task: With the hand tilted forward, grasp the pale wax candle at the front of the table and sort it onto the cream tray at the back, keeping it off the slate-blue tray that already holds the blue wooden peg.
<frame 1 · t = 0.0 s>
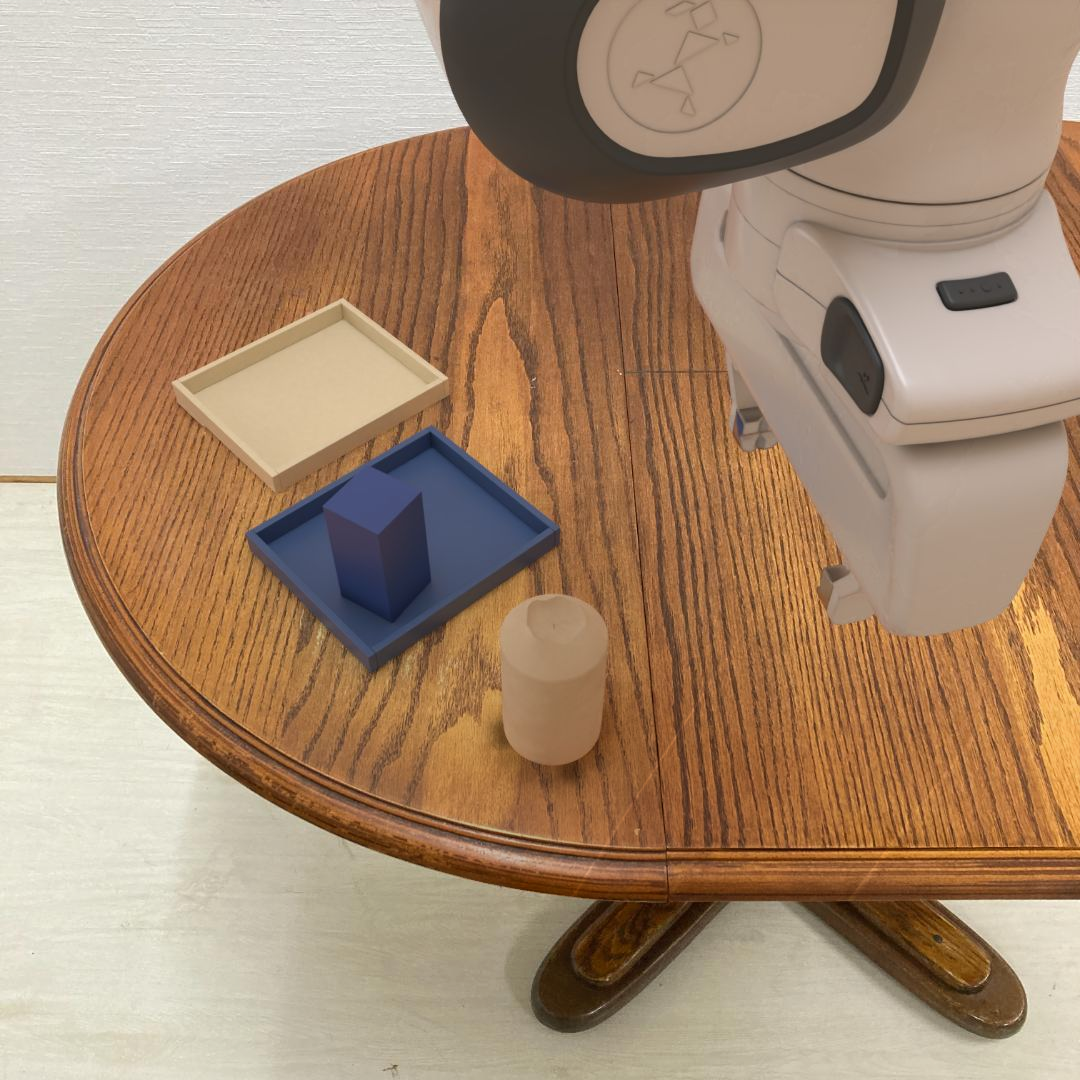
hand: (794, 518, 44), 21 cm above the table, tool pointing down, fingers open, 8 cm apart
blue peg: (386, 588, 69), resting on blue tray
cream tray: (314, 401, 81), on the table
blue tray: (405, 550, 71), on the table
candle: (552, 728, 63), on the table
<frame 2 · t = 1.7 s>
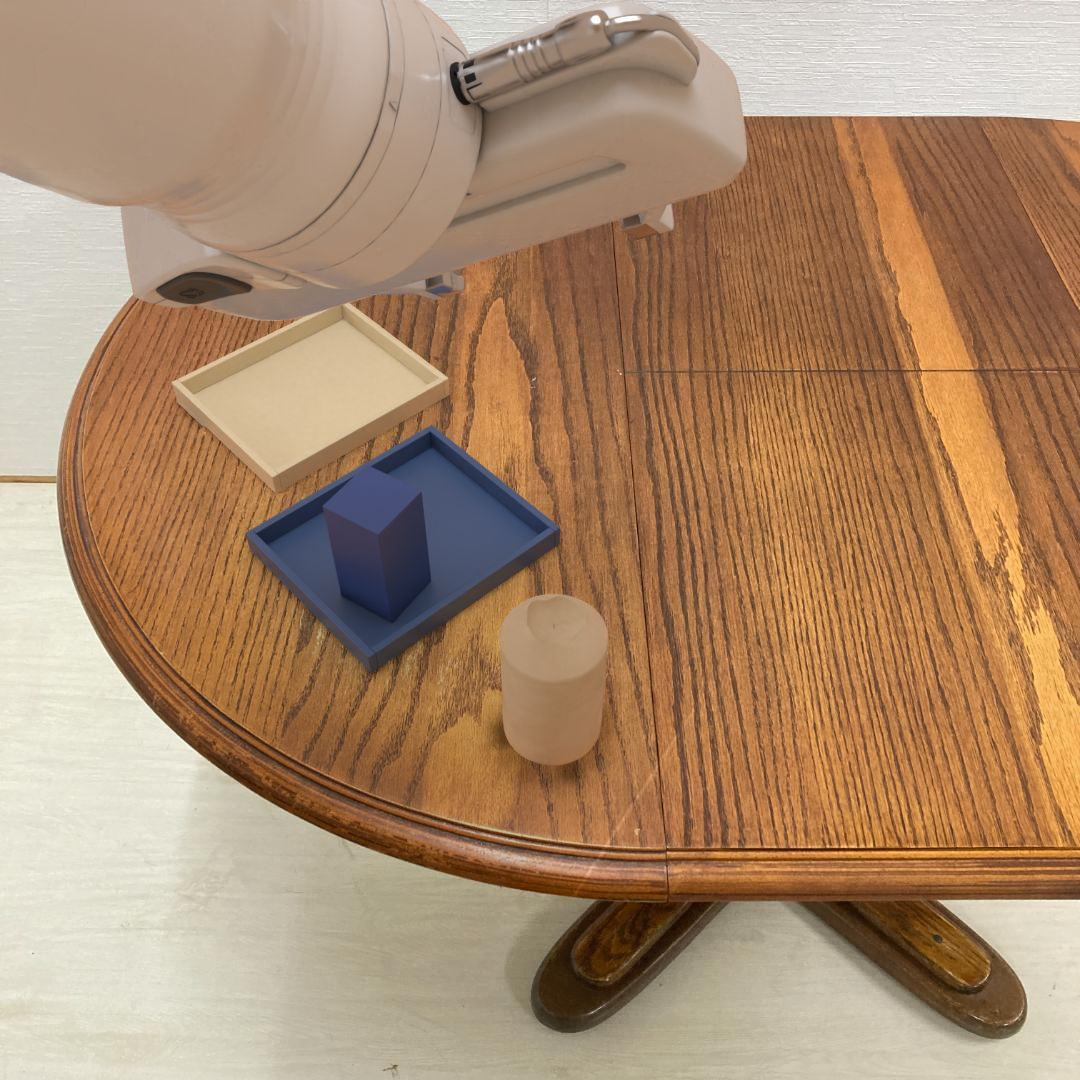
hand: (547, 248, 45), 28 cm above the table, tool tilted 50°, fingers open, 8 cm apart
nothing on the table moved.
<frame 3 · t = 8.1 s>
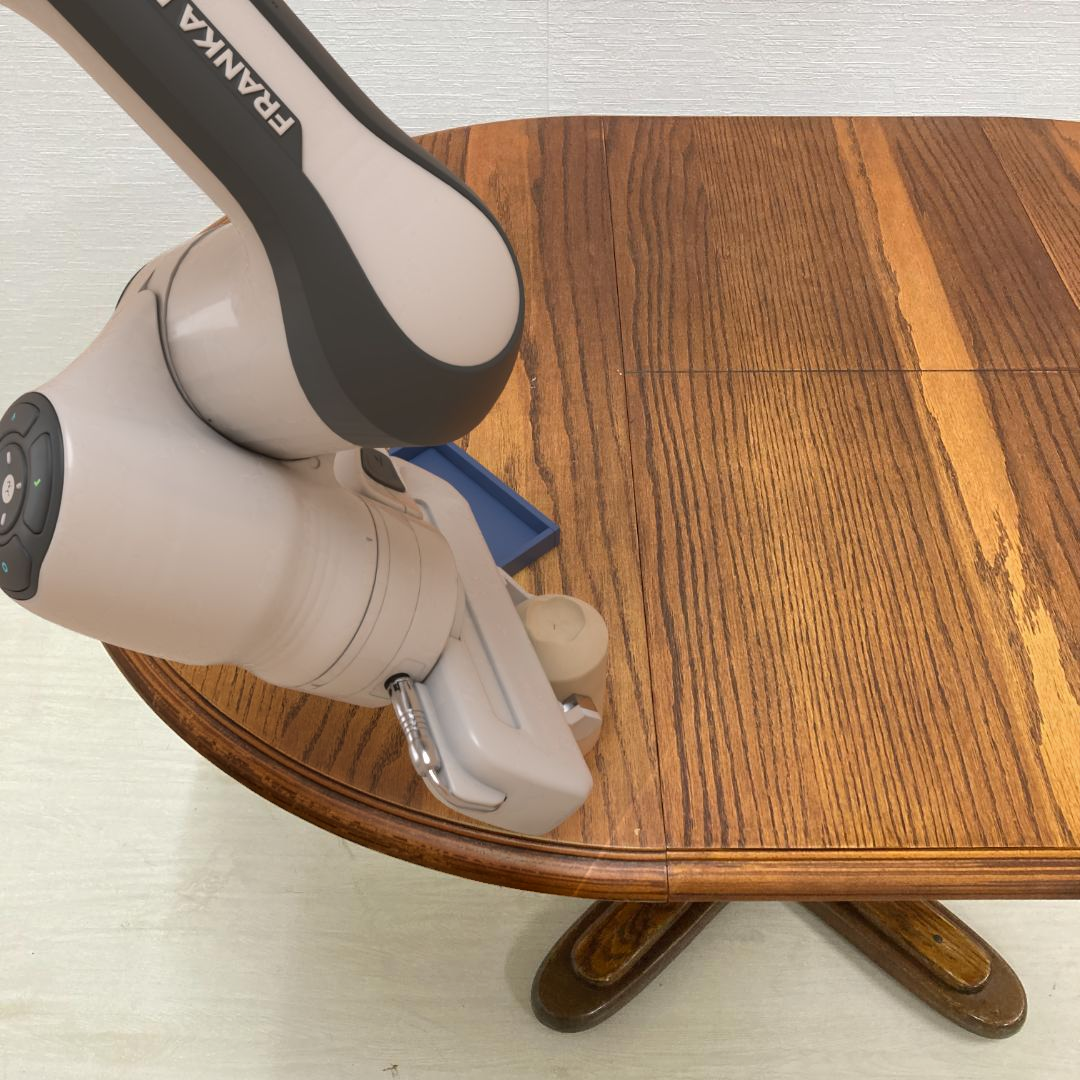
hand: (564, 667, 59), 5 cm above the table, tool tilted 45°, fingers closed on candle, 5 cm apart
candle: (552, 728, 63), on the table, touching gripper
everything else where it was.
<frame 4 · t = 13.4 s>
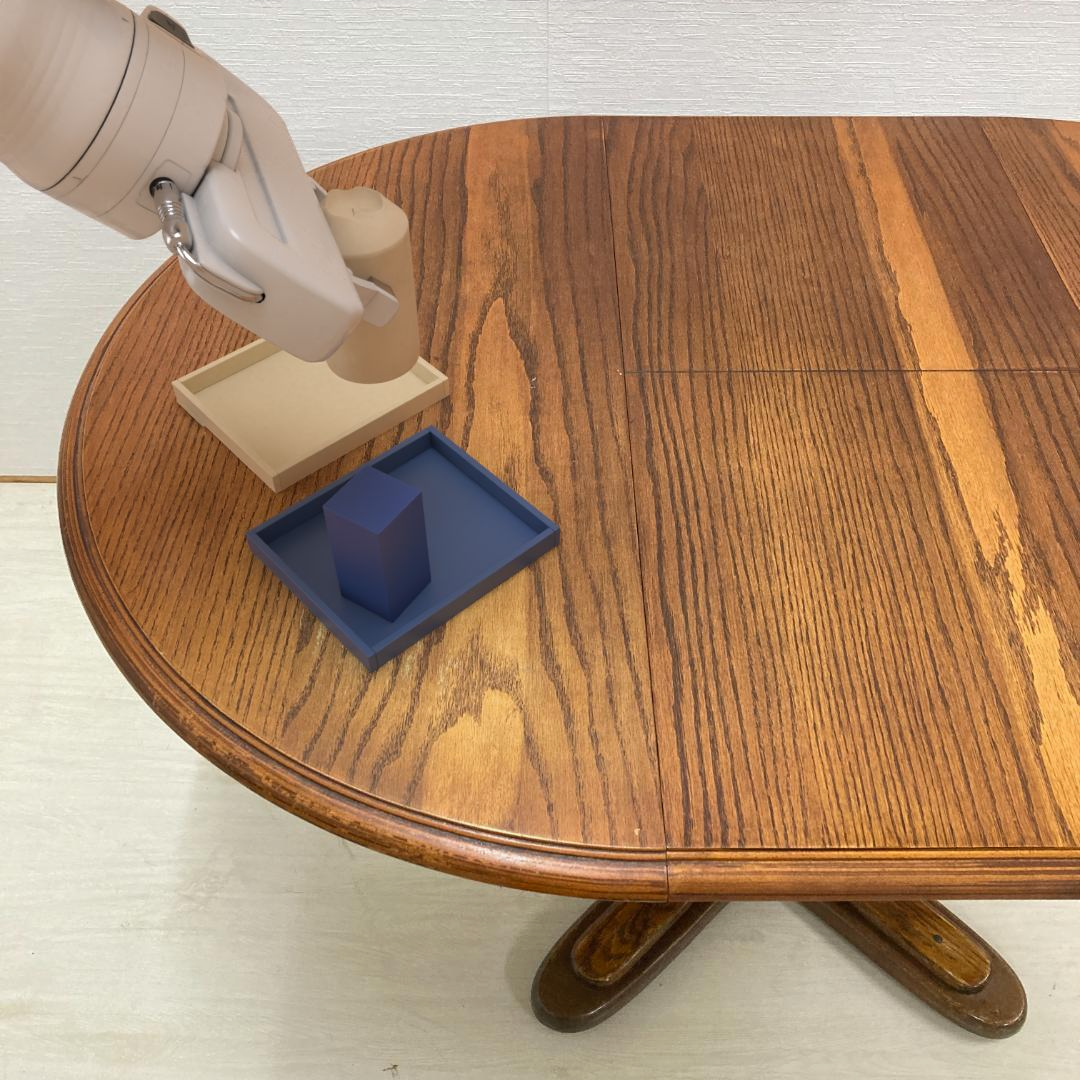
hand: (372, 273, 60), 18 cm above the table, tool tilted 45°, fingers closed on candle, 5 cm apart
candle: (373, 357, 64), point 13 cm above the table, touching gripper
everything else where it was.
when the fingers open (6 cm above the table, at t = 19.1 s): candle stays where it is, resting on cream tray.
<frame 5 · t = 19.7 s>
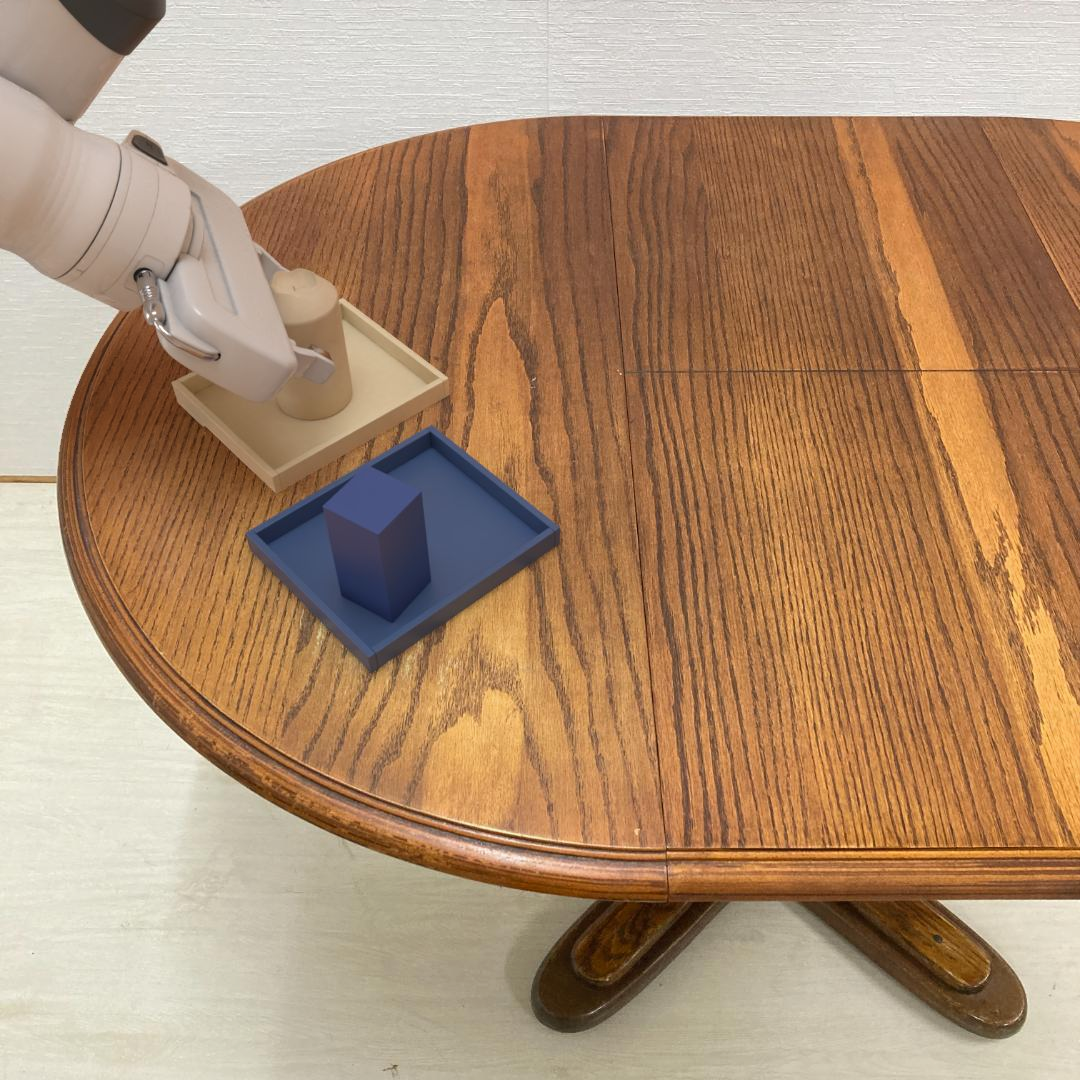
hand: (311, 329, 76), 6 cm above the table, tool tilted 45°, fingers open, 8 cm apart
candle: (315, 397, 81), resting on cream tray
everything else where it was.
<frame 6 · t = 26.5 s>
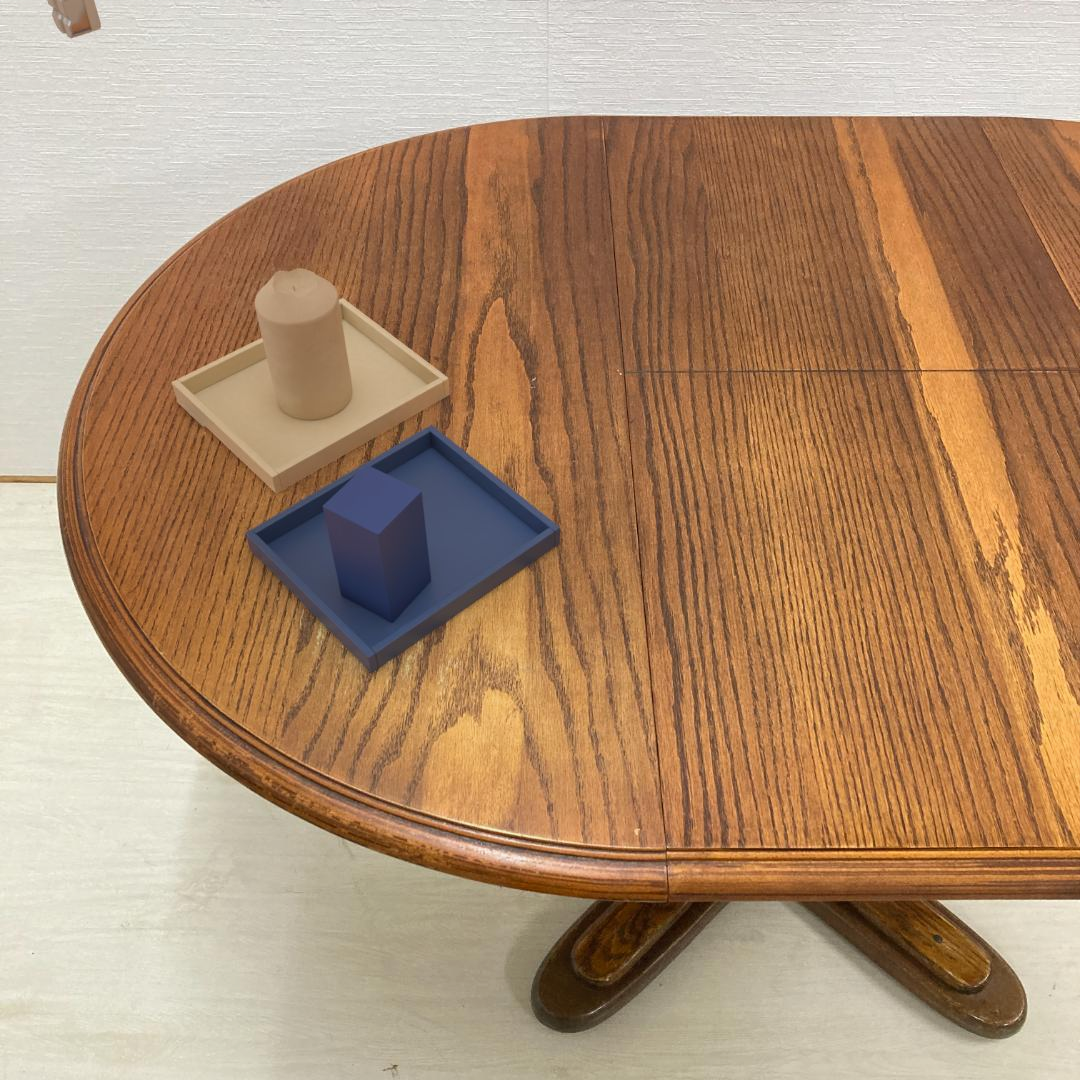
nothing on the table moved.
at the end: candle inside the target area in the cream tray (0.1 cm from its centre), point 0.3 cm above the cream tray's base; candle tilted 0°; candle touching cream tray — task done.
